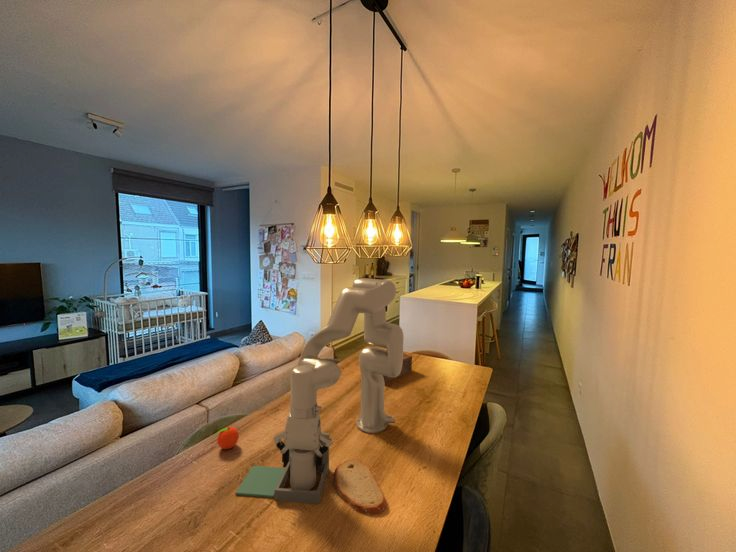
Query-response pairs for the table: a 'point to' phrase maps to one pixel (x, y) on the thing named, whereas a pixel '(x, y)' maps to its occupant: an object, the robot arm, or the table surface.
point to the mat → (260, 481)
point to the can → (302, 469)
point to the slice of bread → (359, 487)
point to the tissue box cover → (405, 368)
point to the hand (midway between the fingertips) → (302, 465)
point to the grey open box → (303, 495)
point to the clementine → (227, 437)
